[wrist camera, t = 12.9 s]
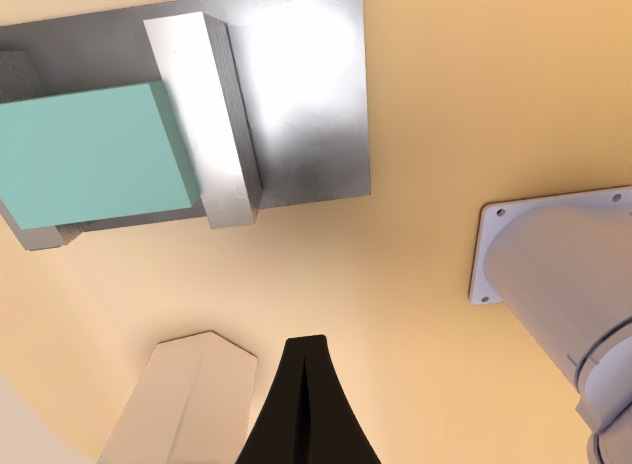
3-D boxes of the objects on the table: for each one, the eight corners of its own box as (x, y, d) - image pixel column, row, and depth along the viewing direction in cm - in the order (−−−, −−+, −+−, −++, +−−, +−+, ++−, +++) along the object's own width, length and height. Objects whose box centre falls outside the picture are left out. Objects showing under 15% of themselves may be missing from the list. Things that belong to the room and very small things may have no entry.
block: (194, 75, 15) (148, 83, 10) (220, 168, 17) (192, 207, 13) (48, 95, 15) (-57, 112, 11) (92, 185, 17) (21, 229, 13)
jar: (155, 321, 23) (36, 536, 13) (264, 337, 25) (236, 545, 14) (153, 395, 28) (62, 603, 17) (247, 405, 29) (215, 606, 18)
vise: (357, -22, 14) (379, -53, 10) (367, 188, 19) (384, 223, 15) (-34, 36, 14) (-158, 28, 11) (75, 226, 19) (17, 270, 15)
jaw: (224, 21, 14) (202, 11, 10) (262, 194, 17) (254, 223, 14) (178, 28, 14) (142, 20, 11) (227, 198, 17) (211, 229, 14)
